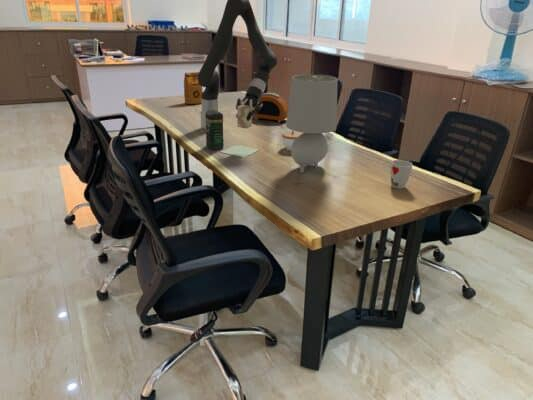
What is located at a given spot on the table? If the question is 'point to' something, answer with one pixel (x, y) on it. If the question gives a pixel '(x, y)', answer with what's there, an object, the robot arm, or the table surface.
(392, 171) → the cup
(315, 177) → the table surface
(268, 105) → the alarm clock
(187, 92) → the coffee package
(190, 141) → the table surface
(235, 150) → the green mat
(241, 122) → the maple block
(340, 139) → the table surface
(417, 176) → the table surface
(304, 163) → the table lamp
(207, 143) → the coffee jar
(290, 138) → the lidded jar
